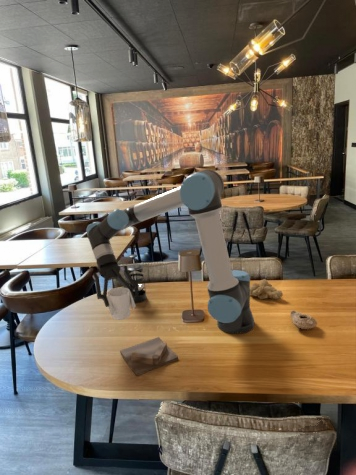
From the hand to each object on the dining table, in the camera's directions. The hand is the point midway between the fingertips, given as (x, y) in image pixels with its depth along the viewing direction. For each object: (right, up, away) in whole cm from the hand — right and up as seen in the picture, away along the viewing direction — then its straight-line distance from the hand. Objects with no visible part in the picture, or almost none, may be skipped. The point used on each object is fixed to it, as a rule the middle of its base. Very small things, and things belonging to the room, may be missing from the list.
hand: (123, 310), depth 126 cm
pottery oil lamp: (+70, -9, +12) cm, 72 cm away
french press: (0, -4, +45) cm, 45 cm away
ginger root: (+61, -2, +40) cm, 73 cm away
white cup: (-1, -3, +4) cm, 5 cm away
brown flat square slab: (+9, -16, -2) cm, 19 cm away
